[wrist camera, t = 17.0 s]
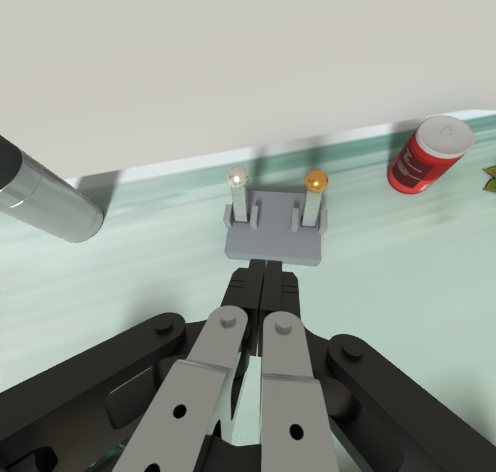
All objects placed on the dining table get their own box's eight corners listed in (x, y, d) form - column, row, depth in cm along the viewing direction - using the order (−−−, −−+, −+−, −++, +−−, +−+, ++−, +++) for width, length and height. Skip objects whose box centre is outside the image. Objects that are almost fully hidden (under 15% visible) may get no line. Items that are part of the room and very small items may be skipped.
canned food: (432, 166, 46) (477, 120, 36) (426, 201, 44) (472, 161, 33) (390, 157, 48) (422, 110, 38) (382, 189, 45) (413, 148, 35)
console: (226, 258, 43) (218, 246, 37) (235, 200, 48) (229, 181, 41) (320, 266, 41) (328, 255, 35) (321, 205, 45) (328, 185, 39)
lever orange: (297, 232, 39) (305, 178, 31) (297, 218, 41) (305, 164, 33) (317, 233, 38) (331, 179, 30) (316, 219, 40) (329, 165, 32)
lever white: (231, 227, 40) (223, 174, 32) (234, 214, 42) (228, 161, 35) (250, 228, 40) (246, 175, 32) (252, 215, 42) (250, 162, 34)
